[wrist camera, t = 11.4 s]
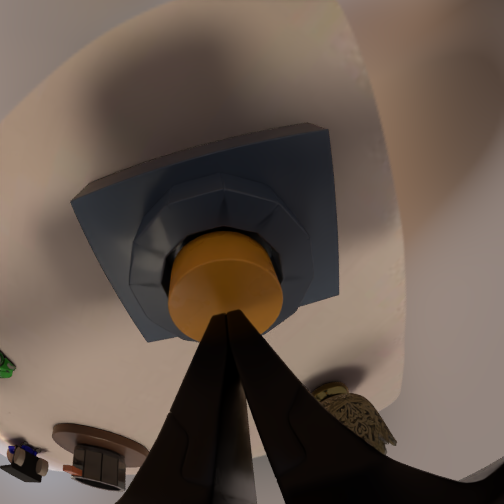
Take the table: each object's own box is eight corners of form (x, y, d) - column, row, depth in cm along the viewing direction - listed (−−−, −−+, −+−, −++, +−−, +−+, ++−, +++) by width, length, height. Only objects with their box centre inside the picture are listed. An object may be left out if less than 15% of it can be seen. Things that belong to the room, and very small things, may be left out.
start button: (190, 320, 11) (191, 354, 10) (156, 246, 9) (148, 277, 8) (278, 299, 11) (289, 330, 10) (261, 217, 9) (274, 244, 8)
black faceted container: (136, 462, 26) (136, 492, 22) (100, 463, 26) (99, 489, 22) (88, 439, 21) (85, 474, 18) (55, 439, 22) (50, 469, 18)
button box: (151, 314, 15) (144, 371, 12) (88, 183, 11) (49, 222, 7) (324, 270, 15) (354, 319, 12) (308, 122, 11) (352, 137, 8)
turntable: (92, 458, 29) (92, 464, 28) (34, 420, 22) (32, 428, 21) (166, 460, 29) (166, 467, 28) (112, 424, 22) (111, 434, 21)
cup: (296, 372, 20) (326, 464, 14) (375, 358, 22) (413, 433, 15) (281, 414, 24) (299, 486, 17) (348, 401, 26) (373, 464, 19)
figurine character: (19, 427, 26) (3, 441, 27) (13, 465, 20) (-2, 471, 21) (52, 445, 30) (29, 456, 31) (49, 481, 23) (27, 485, 24)
